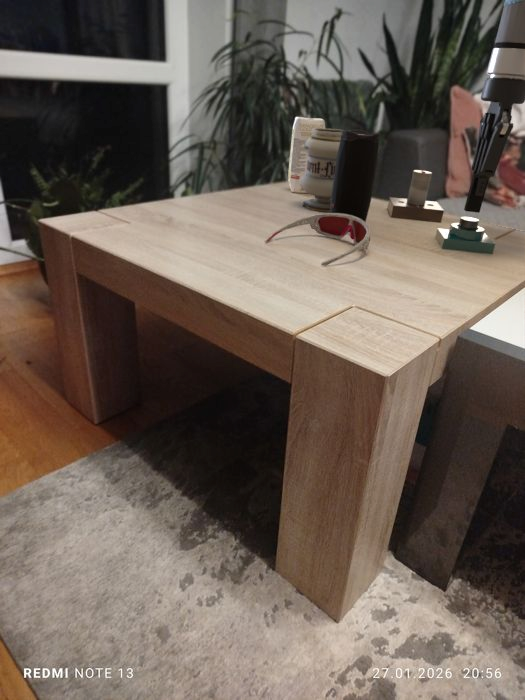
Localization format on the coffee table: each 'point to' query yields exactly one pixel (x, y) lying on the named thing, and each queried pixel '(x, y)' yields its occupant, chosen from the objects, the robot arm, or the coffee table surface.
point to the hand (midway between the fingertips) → (471, 211)
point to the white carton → (300, 150)
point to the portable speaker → (355, 173)
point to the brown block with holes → (415, 210)
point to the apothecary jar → (320, 167)
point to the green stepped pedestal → (464, 239)
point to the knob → (419, 187)
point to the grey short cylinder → (468, 223)
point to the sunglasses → (335, 230)
